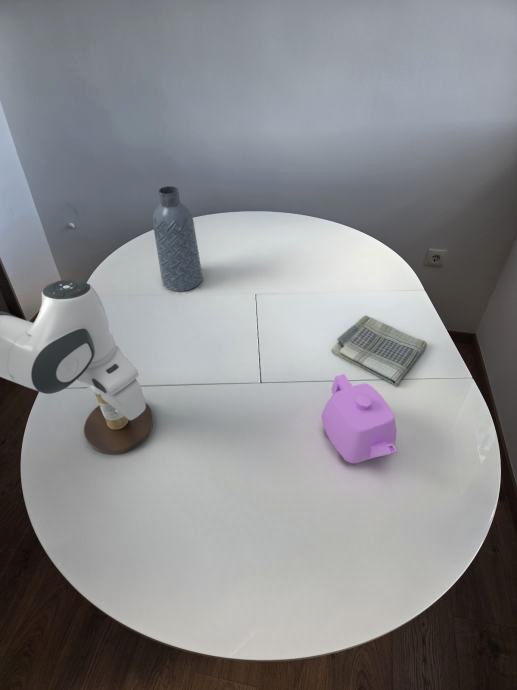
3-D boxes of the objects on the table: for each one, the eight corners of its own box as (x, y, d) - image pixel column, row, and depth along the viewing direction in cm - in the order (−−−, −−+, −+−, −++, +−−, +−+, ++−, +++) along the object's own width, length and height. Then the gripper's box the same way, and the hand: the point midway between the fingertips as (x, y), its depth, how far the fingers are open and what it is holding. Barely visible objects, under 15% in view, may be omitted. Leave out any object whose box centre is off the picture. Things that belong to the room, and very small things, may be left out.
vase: (192, 295, 125) (179, 202, 106) (155, 288, 128) (135, 196, 109) (208, 273, 134) (199, 183, 115) (173, 266, 137) (158, 178, 117)
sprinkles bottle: (111, 412, 92) (94, 369, 83) (132, 413, 92) (117, 370, 83) (104, 430, 89) (85, 387, 80) (125, 431, 89) (109, 388, 80)
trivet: (113, 467, 84) (111, 463, 83) (72, 430, 91) (70, 426, 90) (166, 421, 92) (165, 417, 91) (125, 391, 99) (124, 386, 98)
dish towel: (428, 346, 108) (431, 337, 106) (395, 388, 98) (398, 379, 96) (362, 317, 117) (364, 308, 115) (327, 353, 107) (328, 344, 105)
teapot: (306, 413, 93) (310, 373, 85) (356, 396, 97) (365, 356, 88) (354, 493, 80) (365, 455, 71) (410, 470, 83) (427, 431, 74)
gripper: (46, 343, 81) (69, 391, 90) (114, 395, 71) (132, 443, 81) (75, 326, 84) (95, 374, 94) (143, 373, 75) (157, 422, 84)
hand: (112, 406), depth 87 cm, fingers open, 5 cm apart
